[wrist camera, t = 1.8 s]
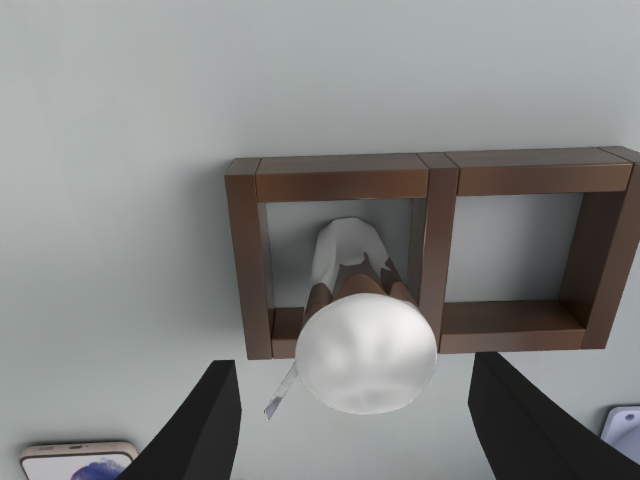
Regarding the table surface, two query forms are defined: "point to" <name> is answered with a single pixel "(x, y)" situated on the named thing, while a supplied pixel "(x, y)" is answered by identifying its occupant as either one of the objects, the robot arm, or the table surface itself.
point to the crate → (435, 239)
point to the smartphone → (77, 461)
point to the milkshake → (359, 328)
